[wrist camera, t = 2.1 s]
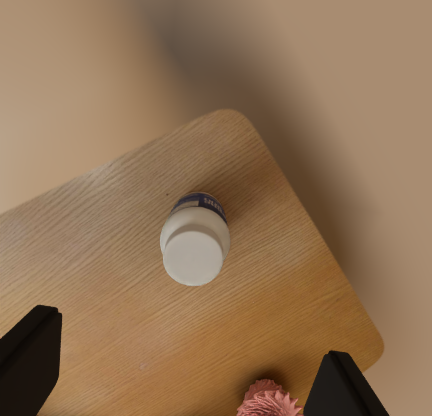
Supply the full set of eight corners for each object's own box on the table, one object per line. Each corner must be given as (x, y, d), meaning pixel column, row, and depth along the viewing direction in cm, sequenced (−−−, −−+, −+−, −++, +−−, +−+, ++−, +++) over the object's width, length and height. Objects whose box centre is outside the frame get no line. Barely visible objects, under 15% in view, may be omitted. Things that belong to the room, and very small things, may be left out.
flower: (305, 375, 31) (326, 424, 26) (272, 418, 33) (285, 471, 28) (252, 352, 30) (262, 398, 25) (220, 397, 32) (223, 449, 27)
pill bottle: (233, 226, 26) (248, 275, 17) (188, 248, 26) (177, 307, 17) (210, 181, 25) (211, 205, 15) (162, 204, 25) (135, 243, 16)
